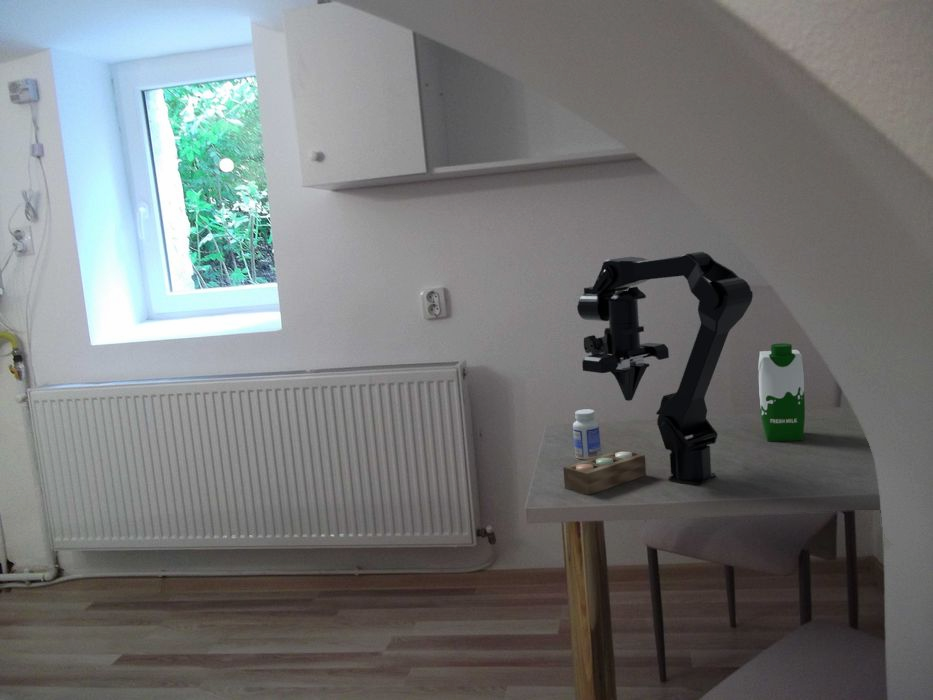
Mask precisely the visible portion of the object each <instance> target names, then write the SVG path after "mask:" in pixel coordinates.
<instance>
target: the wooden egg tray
mask: <svg viewBox="0 0 933 700" xmlns="http://www.w3.org/2000/svg"><path fill="white" fill-rule="evenodd" d="M618 452H631V453H632V456H631V457H628V458H625V459H622V458H618V457H615V454H616V453H618ZM599 458H612V459H613V463H610V464H607V465H601V464H598V463H596V459H599ZM580 464H591V465H593V469H591V470H588V471H585V472H583V471H579V470H576V466H577V465H580ZM646 466H647V465H646V454H643V453H638V452H635V451H634V452H633V451H629V450H625V449H622V448H621V449H618V450H614V451H611V452H608V453H604V454H601V456H598V457H594V458H591V459H588V460H582V461H578V462H576V463H574V464H573V463H572V464H570V465H566V466H563V482H564V489H566V490H570V491H573V492H577V493H581V494H583V495H587V496H590V495H593V494H596V493H599V492H603V491H605V490H607V489H610V488H613V487H616V486H620V485H622V484H625V483H627V482H630V481H634V480H636V479H640V478H642V477H644V476H647V471H646V470H647V469H646Z"/></svg>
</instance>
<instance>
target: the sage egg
mask: <svg viewBox="0 0 933 700" xmlns="http://www.w3.org/2000/svg"><path fill="white" fill-rule="evenodd" d="M596 463H598V464H601V465H607V464H610V463H613V459H612V458H599V459H596Z"/></svg>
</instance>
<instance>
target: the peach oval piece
mask: <svg viewBox="0 0 933 700" xmlns="http://www.w3.org/2000/svg"><path fill="white" fill-rule="evenodd" d="M591 469H593V465H591V464H580V465H577V466H576V470H579V471H583V472H585V471H588V470H591Z"/></svg>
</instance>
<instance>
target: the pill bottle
mask: <svg viewBox="0 0 933 700" xmlns="http://www.w3.org/2000/svg"><path fill="white" fill-rule="evenodd" d="M574 415H575V417H574V418H575V420H576V421H574V422H573V424H572V432H573V444H574V445H573V446H574V455H575V458H576V459H579V460H583V461H585V460H588V459H591V458H594V457H598V456H601V455H602V448H601V436H600V423H599V421H598V420H596V419H595V418H596V413H595V410H593V409H588V408H587V409H578V410H576V411H575V414H574Z"/></svg>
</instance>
